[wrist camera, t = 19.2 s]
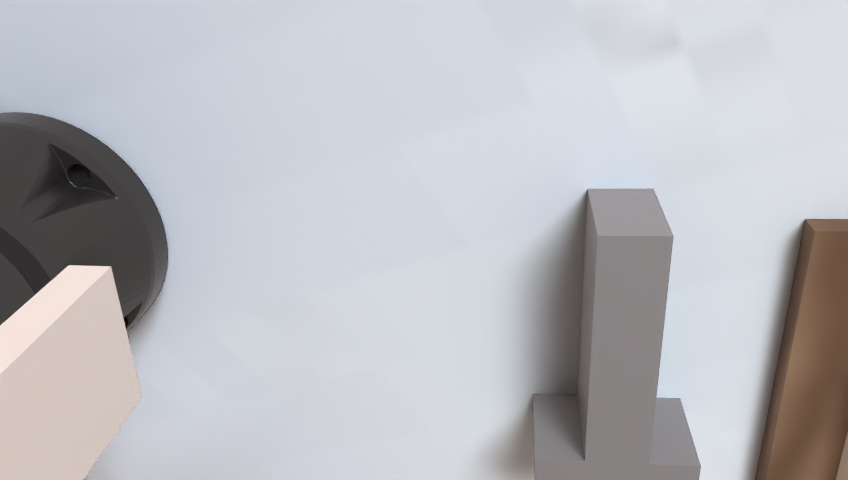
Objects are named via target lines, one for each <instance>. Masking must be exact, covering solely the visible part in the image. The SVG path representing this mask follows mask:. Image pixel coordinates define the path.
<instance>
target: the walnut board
mask: <svg viewBox="0 0 848 480" xmlns="http://www.w3.org/2000/svg"><path fill="white" fill-rule="evenodd" d="M847 432H848V219H805V224H804V229H803V234H802V239H801V245H800V250H799V255H798V260H797V265H796V271H795V276H794V281H793V286H792V292H791V297H790V302H789V307H788V312H787V318H786V323H785V328H784V333H783V338H782V344H781V349H780V354H779V359H778V365H777V370H776V375H775V380H774V385H773V391H772V396H771V401H770V406H769V412H768V417H767V422H766V427H765V432H764V438H763V443H762V448H761V453H760V459H759V464H758V469H757V474H756V479H755V480H836V477H837V473H838V468H839V464H840V460H841V456H842V452H843V448H844V444H845V440H846V436H847Z"/></svg>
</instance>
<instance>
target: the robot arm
mask: <svg viewBox="0 0 848 480" xmlns="http://www.w3.org/2000/svg"><path fill="white" fill-rule="evenodd" d="M167 261H168V249H167V240H166V234H165V230H164V226H163V222H162V219H161V216H160V214H159V212H158V209H157V207H156V205H155V203H154V201H153V199H152V197H151V195H150V194H149V192H148V190H147V189H146V187H145V186H144V184H143V183H142V181H141V180H140V179H139V177H138V176H137V175H136V173H135V172H134V171H133V170H132V169H131V168H130V166H129V165H128V164H127V163H126V162H125V161H124V160H123V159H122V158H121V157H119V156H118V155H117V154H116V153H115V152H114V151H113V150H111V149H110V148H109V147H108V146H107V145H105V144H104V143H102V142H101V141H100V140H98V139H97V138H95V137H93V136H92V135H90V134H88V133H87V132H85V131H83V130H81V129H79V128H77V127H75V126H73V125H71V124H68V123H66V122H63V121H60V120H57V119H54V118H51V117H47V116H43V115H38V114H31V113H18V112H12V113H0V480H83V479H84V478H85V477H86V475H87V474H88V472H89V471H90V470H91V468H92V467H93V465H94V464H95V463H96V461H97V460H98V458H99V457H100V456H101V454H102V453H103V451H104V450H105V449H106V447H107V446H108V444H109V443H110V442H111V440H112V439H113V437H114V436H115V435H116V433H117V432H118V430H119V429H120V428H121V426H122V425H123V423H124V422H125V420H126V419H127V418H128V416H129V415H130V413H131V412H132V411H133V409H134V408H135V406H136V405H137V404H138V402H139V401H140V399H141V398H142V394H141V390H140V385H139V381H138V377H137V373H136V369H135V364H134V360H133V356H132V352H131V348H130V344H129V339H128V335H127V332H128V331H129V330H130V329H131V328H132V327H133V326H134V325H135V324H136V323H137V321H138V320H139V319H140V318H141V317H142V316H143V314H144V313H145V312H146V311H147V310H148V309H149V307H150V306H151V305H152V304H153V302H154V301H155V299H156V298H157V296H158V294H159V292H160V290H161V288H162V285H163V282H164V279H165V275H166V270H167Z"/></svg>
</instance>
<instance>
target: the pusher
mask: <svg viewBox="0 0 848 480" xmlns="http://www.w3.org/2000/svg"><path fill="white" fill-rule="evenodd" d="M672 244H673V234H672V232H671V229H670V227H669V225H668V222H667V220H666V218H665V215H664V213H663V210H662V208H661V206H660V203H659V201H658V199H657V196H656V194H655V192H654V189H588V192H587V213H586V233H585V253H584V273H583V293H582V313H581V334H580V354H579V374H578V394H577V395H550V394H533V432H534V471H535V480H699V475H700V468H701V465H700V462H699V459H698V456H697V452H696V449H695V446H694V443H693V439H692V436H691V433H690V429H689V426H688V423H687V420H686V416H685V413H684V410H683V406H682V403H681V400H680V398H656V395H657V386H658V376H659V367H660V357H661V348H662V339H663V329H664V320H665V310H666V301H667V291H668V282H669V272H670V263H671V254H672Z"/></svg>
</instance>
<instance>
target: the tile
mask: <svg viewBox="0 0 848 480" xmlns="http://www.w3.org/2000/svg"><path fill="white" fill-rule="evenodd" d="M836 480H848V432H847V436H846V440H845V444H844V448H843V452H842V456H841V460H840V464H839V468H838V473H837V477H836Z"/></svg>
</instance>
